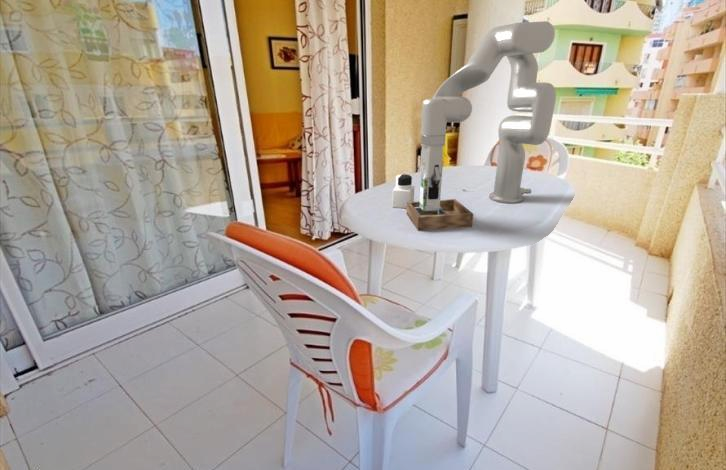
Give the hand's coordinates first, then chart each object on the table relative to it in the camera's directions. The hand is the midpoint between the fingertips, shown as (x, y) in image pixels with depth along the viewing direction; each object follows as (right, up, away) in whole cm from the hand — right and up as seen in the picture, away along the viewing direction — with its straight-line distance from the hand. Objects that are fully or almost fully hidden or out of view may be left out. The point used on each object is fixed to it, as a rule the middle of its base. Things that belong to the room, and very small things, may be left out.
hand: (430, 195), depth 113 cm
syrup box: (0, -4, +2) cm, 5 cm away
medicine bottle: (-7, -2, +20) cm, 21 cm away
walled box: (+3, -8, +4) cm, 9 cm away
